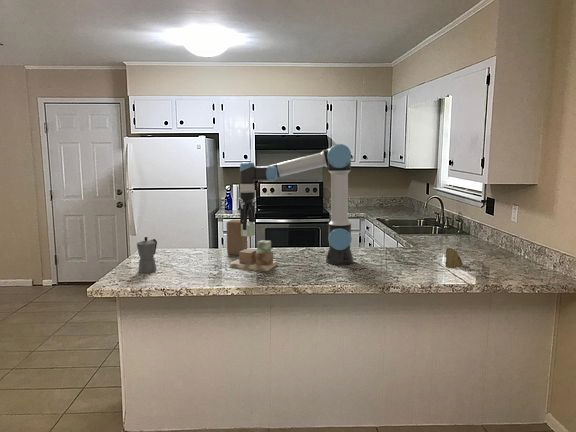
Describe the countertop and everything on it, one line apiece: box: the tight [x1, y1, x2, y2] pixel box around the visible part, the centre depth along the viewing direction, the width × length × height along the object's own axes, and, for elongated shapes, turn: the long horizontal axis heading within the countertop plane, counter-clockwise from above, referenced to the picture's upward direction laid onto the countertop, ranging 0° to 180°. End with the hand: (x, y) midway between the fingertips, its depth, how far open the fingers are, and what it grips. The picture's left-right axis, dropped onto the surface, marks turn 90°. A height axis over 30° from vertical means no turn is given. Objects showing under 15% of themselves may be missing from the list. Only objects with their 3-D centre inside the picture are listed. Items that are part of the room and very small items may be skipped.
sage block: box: [241, 222, 256, 238], centre depth 238 cm, size 6×6×6 cm
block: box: [226, 219, 248, 256], centre depth 268 cm, size 10×10×20 cm
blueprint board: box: [229, 258, 278, 272], centre depth 239 cm, size 22×13×2 cm, turn 69°
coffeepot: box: [136, 236, 158, 274], centre depth 230 cm, size 15×9×18 cm, turn 162°
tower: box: [256, 239, 274, 266], centre depth 236 cm, size 7×7×12 cm
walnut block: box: [238, 248, 257, 264], centre depth 240 cm, size 7×7×6 cm
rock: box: [444, 247, 463, 269], centre depth 237 cm, size 11×9×10 cm
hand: (248, 234), depth 239 cm, fingers closed on sage block, 5 cm apart
